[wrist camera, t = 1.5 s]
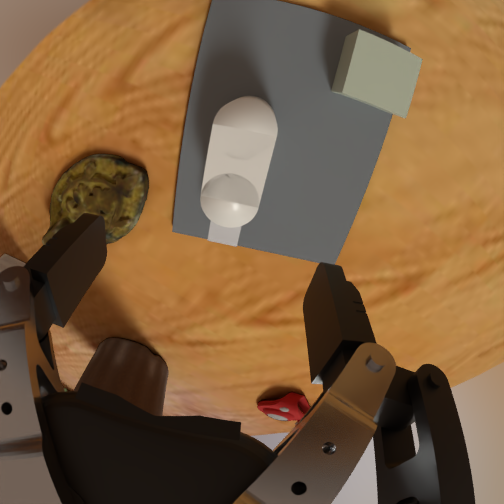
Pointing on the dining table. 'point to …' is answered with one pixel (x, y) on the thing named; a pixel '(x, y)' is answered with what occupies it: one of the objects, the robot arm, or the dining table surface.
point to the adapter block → (377, 73)
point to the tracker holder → (285, 407)
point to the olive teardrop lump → (100, 195)
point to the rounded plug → (237, 166)
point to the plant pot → (128, 374)
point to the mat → (284, 125)
